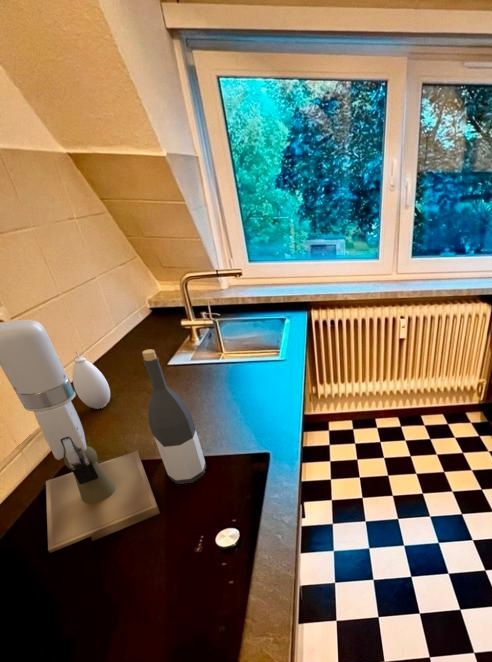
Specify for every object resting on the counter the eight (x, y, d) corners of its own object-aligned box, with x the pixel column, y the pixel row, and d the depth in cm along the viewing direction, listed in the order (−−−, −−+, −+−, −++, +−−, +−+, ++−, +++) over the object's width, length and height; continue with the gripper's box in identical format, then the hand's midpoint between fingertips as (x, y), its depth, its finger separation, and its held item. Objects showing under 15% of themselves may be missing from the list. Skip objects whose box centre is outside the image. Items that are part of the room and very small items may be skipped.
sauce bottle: (80, 407, 112) (53, 350, 102) (109, 397, 117) (86, 341, 107) (91, 417, 108) (63, 358, 98) (120, 406, 113) (97, 348, 103)
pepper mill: (115, 479, 83) (96, 438, 77) (114, 497, 79) (94, 455, 73) (83, 488, 81) (61, 446, 75) (80, 507, 76) (56, 464, 70)
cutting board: (53, 557, 69) (47, 550, 68) (49, 487, 84) (45, 480, 83) (160, 513, 78) (157, 506, 77) (139, 457, 93) (137, 450, 92)
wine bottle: (211, 477, 87) (175, 353, 70) (173, 490, 83) (126, 364, 67) (202, 458, 92) (167, 339, 76) (166, 469, 89) (121, 348, 73)
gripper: (21, 380, 71) (63, 457, 81) (18, 422, 59) (68, 506, 69) (69, 369, 74) (104, 444, 84) (75, 407, 63) (115, 489, 73)
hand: (87, 471), depth 77 cm, fingers closed on pepper mill, 5 cm apart
